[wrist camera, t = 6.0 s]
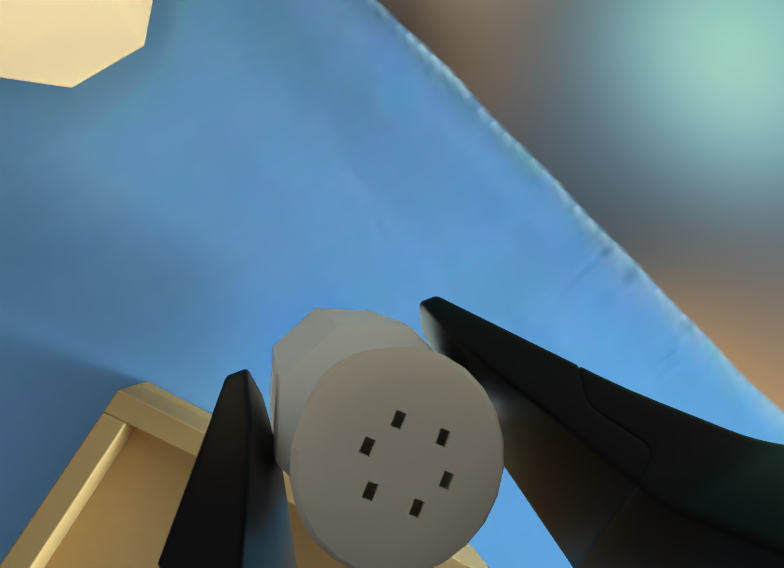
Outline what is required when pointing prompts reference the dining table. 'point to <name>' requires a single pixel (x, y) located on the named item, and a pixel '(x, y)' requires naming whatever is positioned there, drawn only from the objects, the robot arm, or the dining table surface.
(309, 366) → the salt shaker
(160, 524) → the tray
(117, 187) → the dining table surface
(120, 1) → the squash
